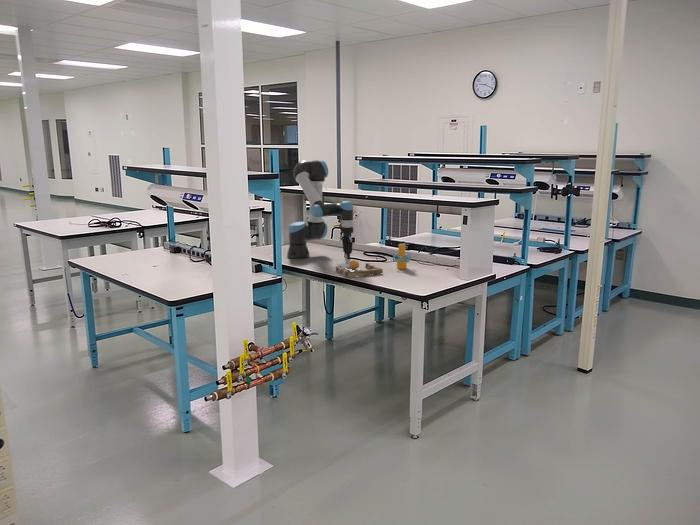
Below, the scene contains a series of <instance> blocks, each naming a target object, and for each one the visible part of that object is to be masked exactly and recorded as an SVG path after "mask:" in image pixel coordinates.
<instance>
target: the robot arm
mask: <svg viewBox="0 0 700 525" xmlns="http://www.w3.org/2000/svg"><path fill="white" fill-rule="evenodd" d="M328 167H329V166H328V165H327V162H325V161H324V160H323V159H322V160H321V159H320V160H319V159H314V160H313V159H312V160H311V159H310V160H300V161H299V162H298V163H296V165H295V167H294V169H293V177H294V180H295V181H296V183H298V184H299V185H300V188H301V189H302V191H303V193H304V195H305V197H306V199H307V200H308V202H309V217H308V219H307V220H306V222H307V223H306V222H305V221H297V222H296V221H295V222H293V223H290V224H289V226H288V242H289V243H288V244H289V247H288V250H287V254H286V255H287V258H288V259H293V260H294V259H295V260H296V259H297V260H300V259H307V258H309V257H310V251H309V249H308V246H307V241H314V240H321V239H325V237H327V235H328V224H327V222H325V219H324V217H334V216H335V217H336V216H339V217H340V225H341V227H340V231H341V232H340V233H341V234H343V235H342V236H341V241H342V243H341V244H342V250H343V252H344V263H345V264H350V262H351V254H352V253H353V244H354V243H353V242H354V239H353V238H352V234H353V233H354V205H353V204H354V203H353V201H351V200H343V201H341V202H333V203H327V204H325V203H324V201H323V184H324V182H325V179H326V178H327V177H328V176H329V168H328Z"/></svg>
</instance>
